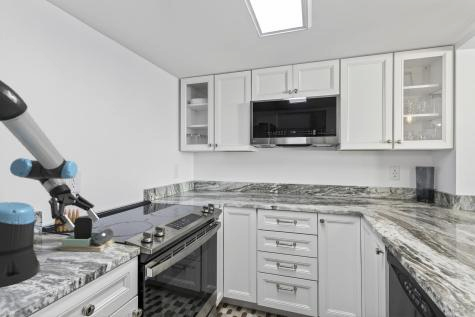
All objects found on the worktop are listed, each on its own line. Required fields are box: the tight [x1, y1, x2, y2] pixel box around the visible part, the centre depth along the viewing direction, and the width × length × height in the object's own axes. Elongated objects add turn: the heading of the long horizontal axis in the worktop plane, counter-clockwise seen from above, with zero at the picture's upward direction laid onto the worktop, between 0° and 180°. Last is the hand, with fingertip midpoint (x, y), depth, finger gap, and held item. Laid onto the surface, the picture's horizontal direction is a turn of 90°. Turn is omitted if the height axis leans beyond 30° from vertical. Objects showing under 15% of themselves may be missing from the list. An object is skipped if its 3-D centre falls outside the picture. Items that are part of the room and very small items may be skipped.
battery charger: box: [73, 215, 94, 239], centre depth 106 cm, size 7×4×11 cm, turn 112°
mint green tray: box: [59, 228, 116, 253], centre depth 106 cm, size 12×17×6 cm
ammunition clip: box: [53, 208, 80, 235], centre depth 124 cm, size 11×2×12 cm, turn 113°
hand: (85, 224), depth 107 cm, fingers open, 13 cm apart
